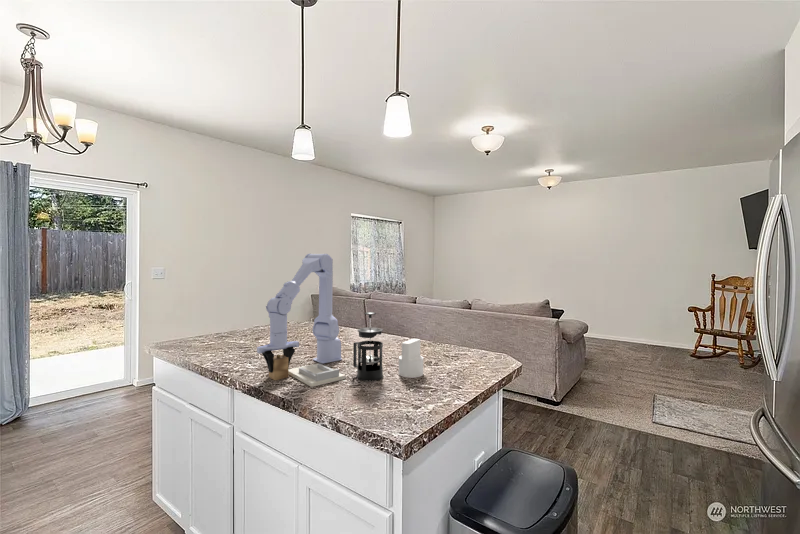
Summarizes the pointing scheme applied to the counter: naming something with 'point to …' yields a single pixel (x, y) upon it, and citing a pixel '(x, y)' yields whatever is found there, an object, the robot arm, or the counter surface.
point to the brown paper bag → (279, 367)
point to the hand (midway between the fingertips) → (278, 370)
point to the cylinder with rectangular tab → (411, 359)
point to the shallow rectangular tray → (316, 374)
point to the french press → (370, 365)
